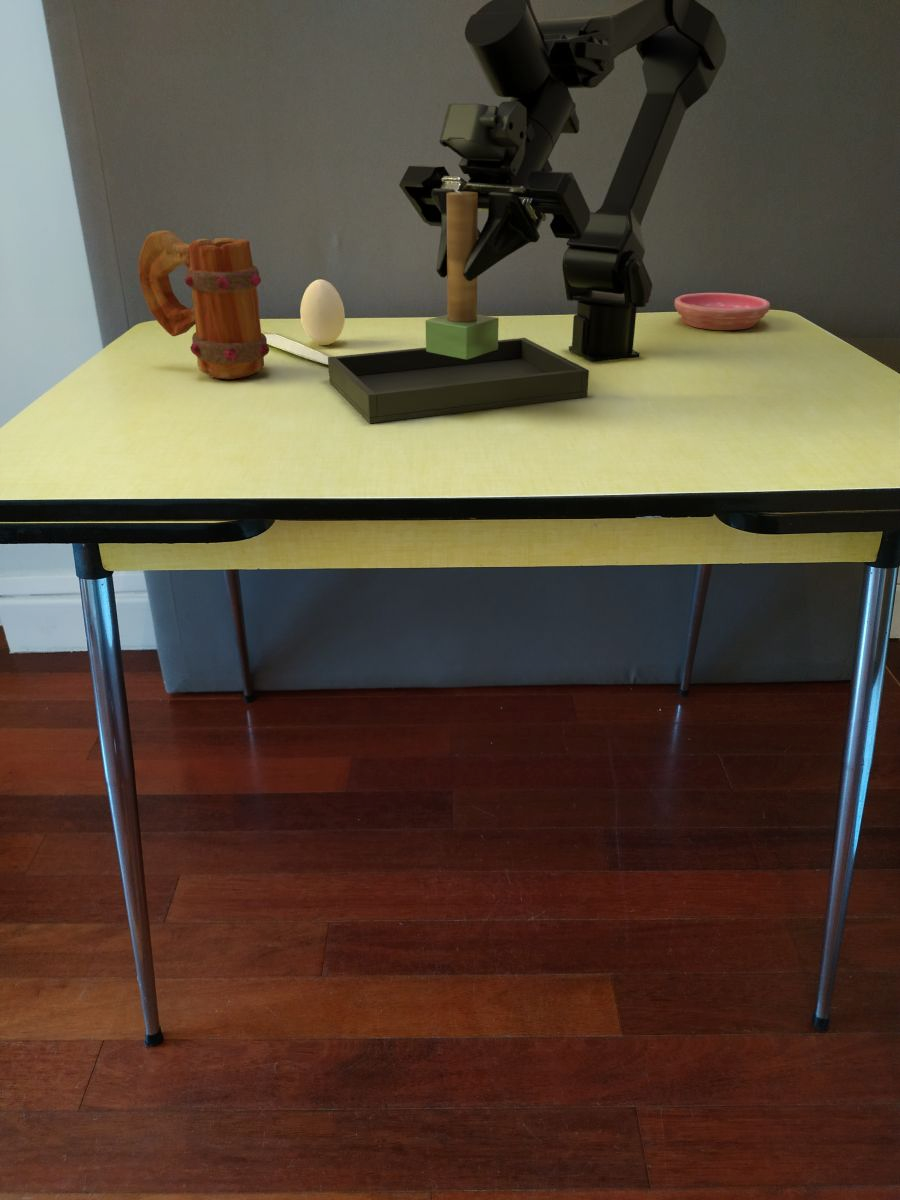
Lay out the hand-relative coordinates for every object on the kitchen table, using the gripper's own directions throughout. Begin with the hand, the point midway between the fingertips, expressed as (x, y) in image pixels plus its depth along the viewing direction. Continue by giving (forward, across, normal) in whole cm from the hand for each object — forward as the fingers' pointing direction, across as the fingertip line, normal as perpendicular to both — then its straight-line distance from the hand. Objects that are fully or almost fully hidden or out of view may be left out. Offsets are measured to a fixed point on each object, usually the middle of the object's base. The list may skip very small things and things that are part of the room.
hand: (452, 276), depth 84 cm
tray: (+4, -5, +14) cm, 15 cm away
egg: (+1, -31, +18) cm, 36 cm away
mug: (+13, -31, +6) cm, 34 cm away
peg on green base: (+4, 0, +6) cm, 7 cm away
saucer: (-28, +4, +47) cm, 55 cm away
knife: (+3, -37, +16) cm, 40 cm away
